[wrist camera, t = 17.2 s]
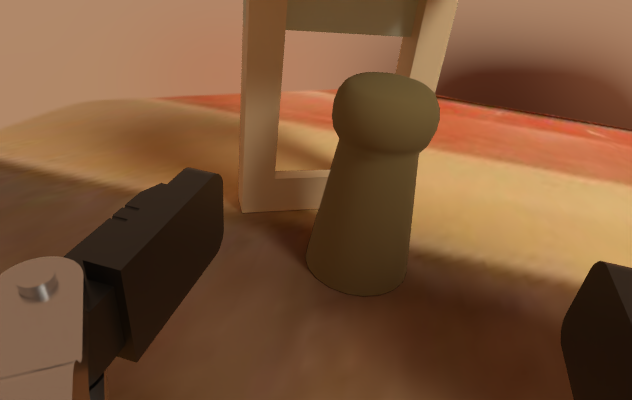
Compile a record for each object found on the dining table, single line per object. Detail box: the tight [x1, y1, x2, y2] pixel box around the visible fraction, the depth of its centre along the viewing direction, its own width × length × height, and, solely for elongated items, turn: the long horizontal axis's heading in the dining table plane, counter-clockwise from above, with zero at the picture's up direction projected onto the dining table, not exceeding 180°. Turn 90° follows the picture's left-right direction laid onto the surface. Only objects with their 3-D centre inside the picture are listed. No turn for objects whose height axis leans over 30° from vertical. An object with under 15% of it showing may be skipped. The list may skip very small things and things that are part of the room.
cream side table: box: [238, 0, 459, 213], centre depth 25 cm, size 12×10×18 cm
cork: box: [305, 72, 440, 296], centre depth 25 cm, size 6×6×11 cm
